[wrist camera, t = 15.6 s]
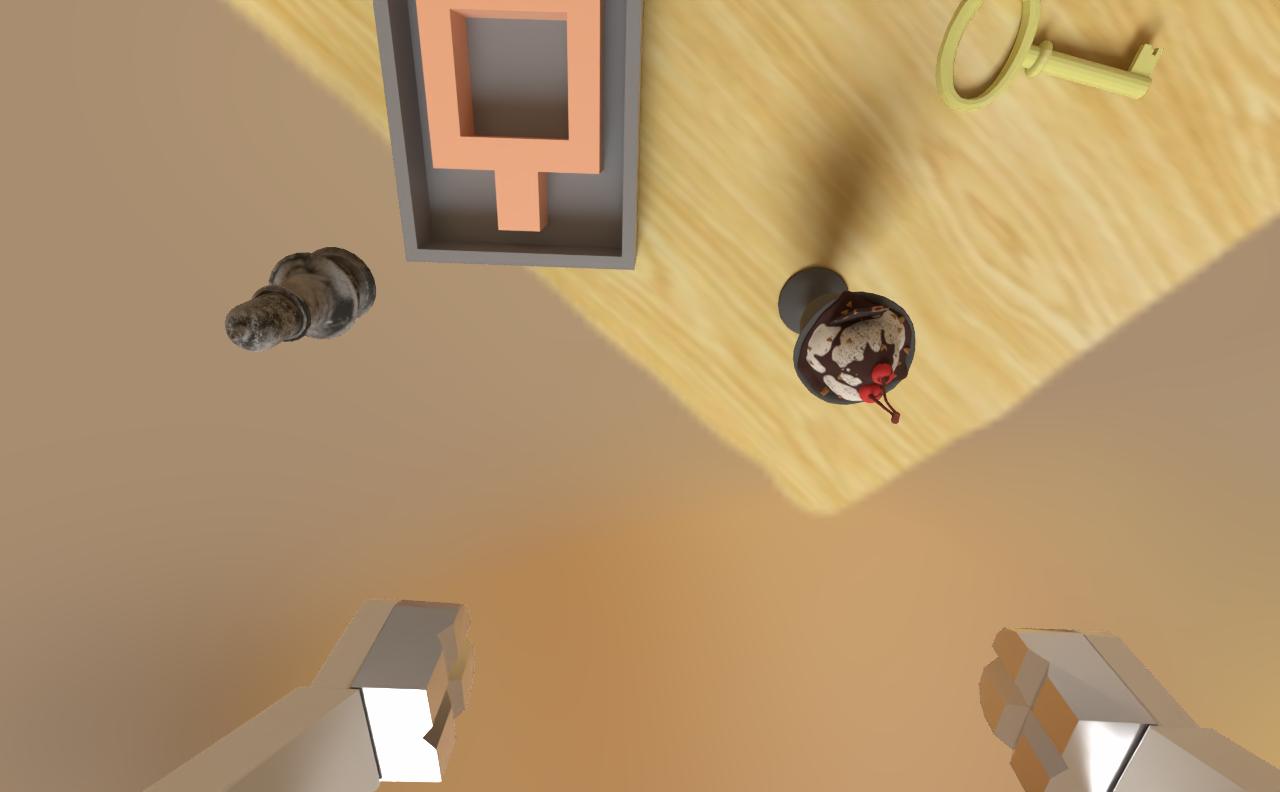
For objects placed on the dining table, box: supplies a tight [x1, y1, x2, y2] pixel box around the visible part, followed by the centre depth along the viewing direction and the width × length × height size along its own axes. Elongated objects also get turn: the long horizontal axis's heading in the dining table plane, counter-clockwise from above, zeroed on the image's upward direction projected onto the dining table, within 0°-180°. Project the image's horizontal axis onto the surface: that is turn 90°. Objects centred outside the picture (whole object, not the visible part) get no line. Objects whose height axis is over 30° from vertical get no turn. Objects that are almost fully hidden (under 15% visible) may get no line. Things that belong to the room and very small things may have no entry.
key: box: [936, 0, 1164, 112], centre depth 35 cm, size 7×12×2 cm, turn 94°
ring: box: [416, 0, 605, 232], centre depth 36 cm, size 14×10×3 cm
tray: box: [373, 0, 644, 270], centre depth 36 cm, size 15×19×4 cm
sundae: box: [778, 268, 915, 424], centre depth 36 cm, size 7×7×15 cm
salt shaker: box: [225, 247, 376, 352], centre depth 38 cm, size 6×6×12 cm
